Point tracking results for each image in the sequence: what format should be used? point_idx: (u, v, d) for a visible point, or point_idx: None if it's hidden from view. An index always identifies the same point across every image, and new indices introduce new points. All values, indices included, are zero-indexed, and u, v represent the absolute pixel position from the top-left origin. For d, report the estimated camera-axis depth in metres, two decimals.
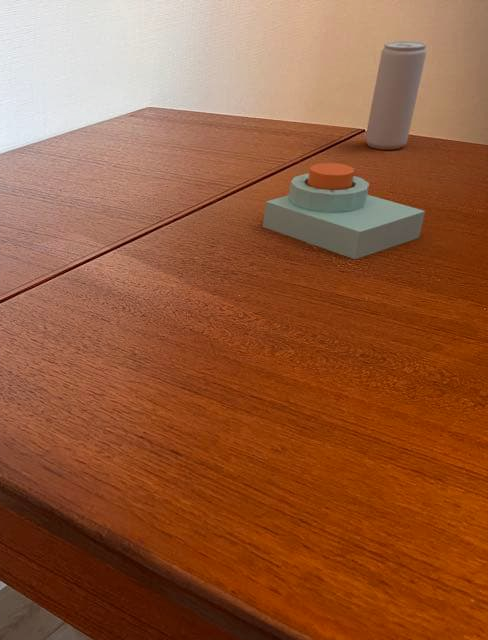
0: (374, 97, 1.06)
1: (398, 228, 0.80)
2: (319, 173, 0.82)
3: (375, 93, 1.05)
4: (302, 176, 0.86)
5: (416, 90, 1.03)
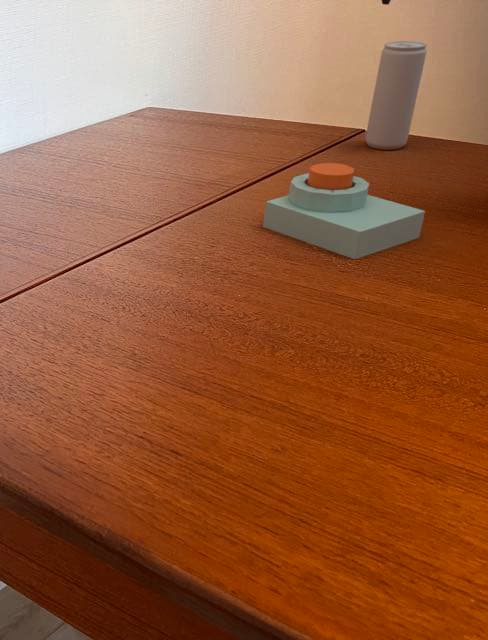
0: (374, 97, 1.06)
1: (398, 228, 0.80)
2: (319, 173, 0.82)
3: (375, 93, 1.05)
4: (302, 176, 0.86)
5: (416, 90, 1.03)
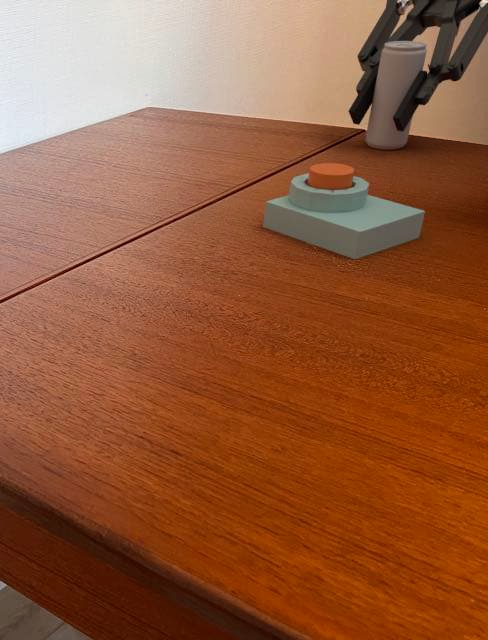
0: (374, 97, 1.06)
1: (398, 228, 0.80)
2: (319, 173, 0.82)
3: (375, 93, 1.05)
4: (302, 176, 0.86)
5: None
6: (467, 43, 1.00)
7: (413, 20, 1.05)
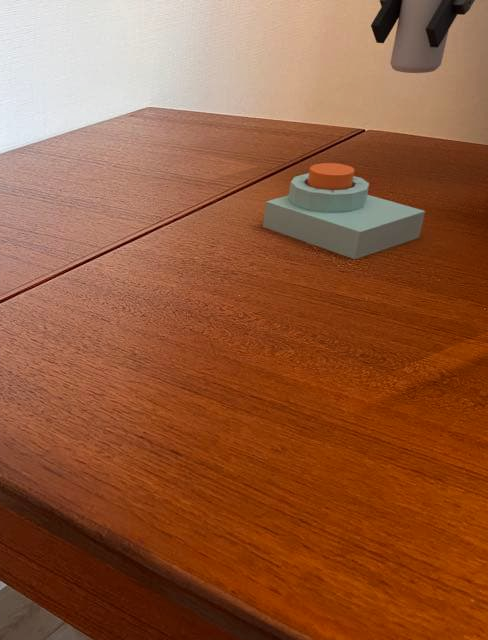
0: (402, 9, 0.88)
1: (398, 228, 0.80)
2: (319, 173, 0.82)
3: (403, 3, 0.87)
4: (302, 176, 0.86)
5: None
6: None
7: None
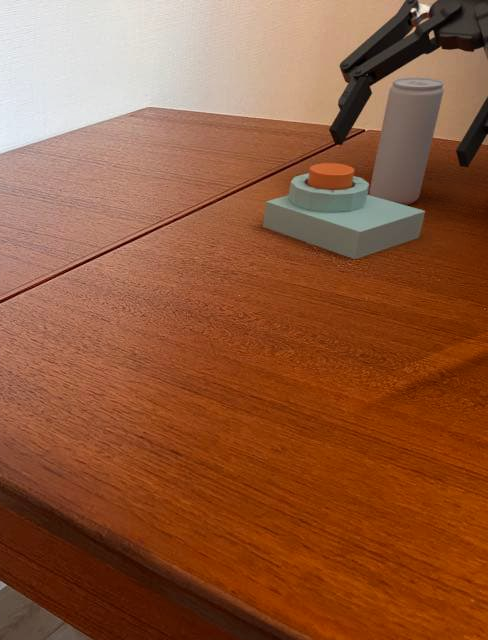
0: (380, 144, 0.89)
1: (398, 228, 0.80)
2: (319, 173, 0.82)
3: (381, 139, 0.88)
4: (302, 176, 0.86)
5: (431, 137, 0.86)
6: None
7: (419, 36, 0.88)
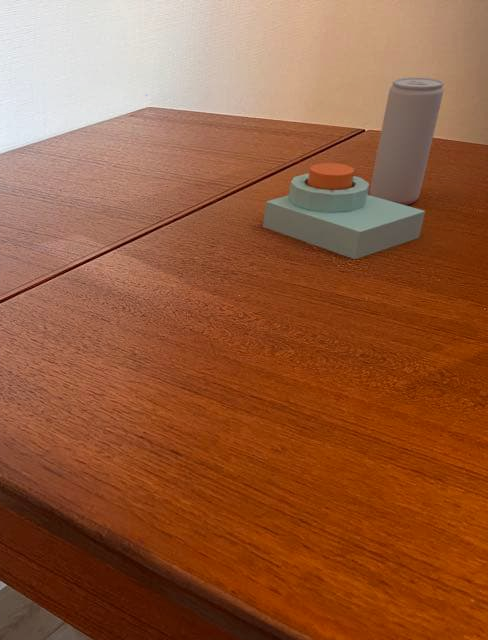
0: (380, 144, 0.89)
1: (398, 228, 0.80)
2: (319, 173, 0.82)
3: (381, 139, 0.88)
4: (302, 176, 0.86)
5: (431, 137, 0.86)
6: None
7: None
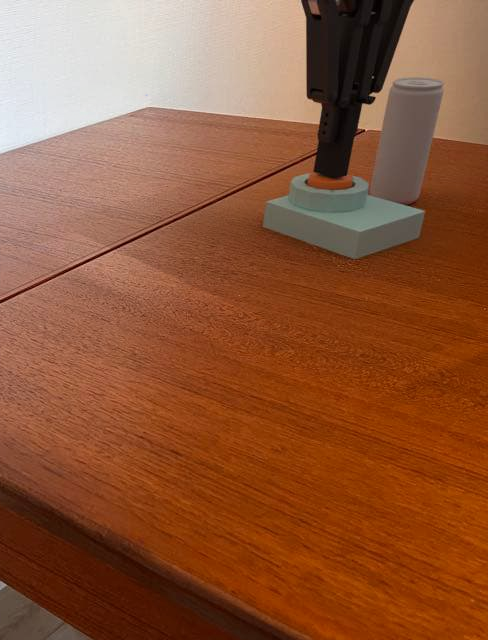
0: (380, 144, 0.89)
1: (398, 228, 0.80)
2: (318, 180, 0.82)
3: (381, 139, 0.88)
4: (302, 176, 0.86)
5: (431, 137, 0.86)
6: (391, 53, 0.78)
7: (363, 26, 0.75)
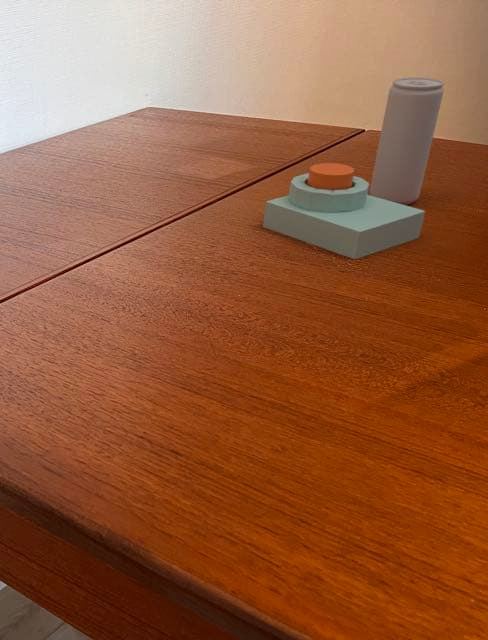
0: (380, 144, 0.89)
1: (398, 228, 0.80)
2: (319, 173, 0.82)
3: (381, 139, 0.88)
4: (302, 176, 0.86)
5: (431, 137, 0.86)
6: None
7: None
